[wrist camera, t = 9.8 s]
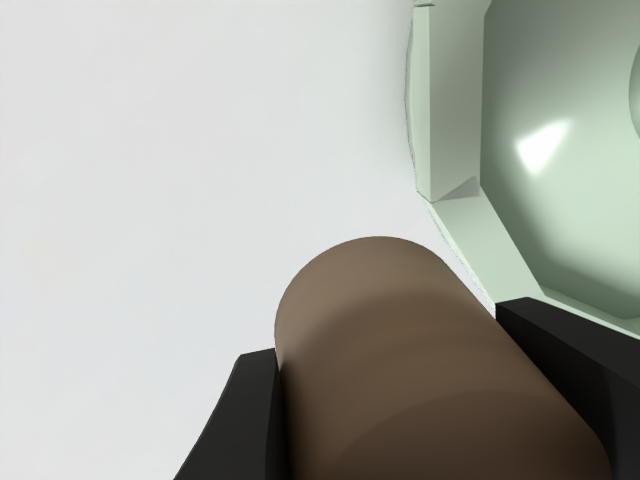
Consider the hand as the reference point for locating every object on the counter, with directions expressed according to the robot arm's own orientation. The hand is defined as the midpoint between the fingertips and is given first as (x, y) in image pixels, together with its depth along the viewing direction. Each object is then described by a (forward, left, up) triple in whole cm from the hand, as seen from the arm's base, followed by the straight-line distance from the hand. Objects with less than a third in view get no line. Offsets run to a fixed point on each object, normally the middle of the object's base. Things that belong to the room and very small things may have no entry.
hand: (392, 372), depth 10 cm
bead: (0, 0, -2) cm, 2 cm away
